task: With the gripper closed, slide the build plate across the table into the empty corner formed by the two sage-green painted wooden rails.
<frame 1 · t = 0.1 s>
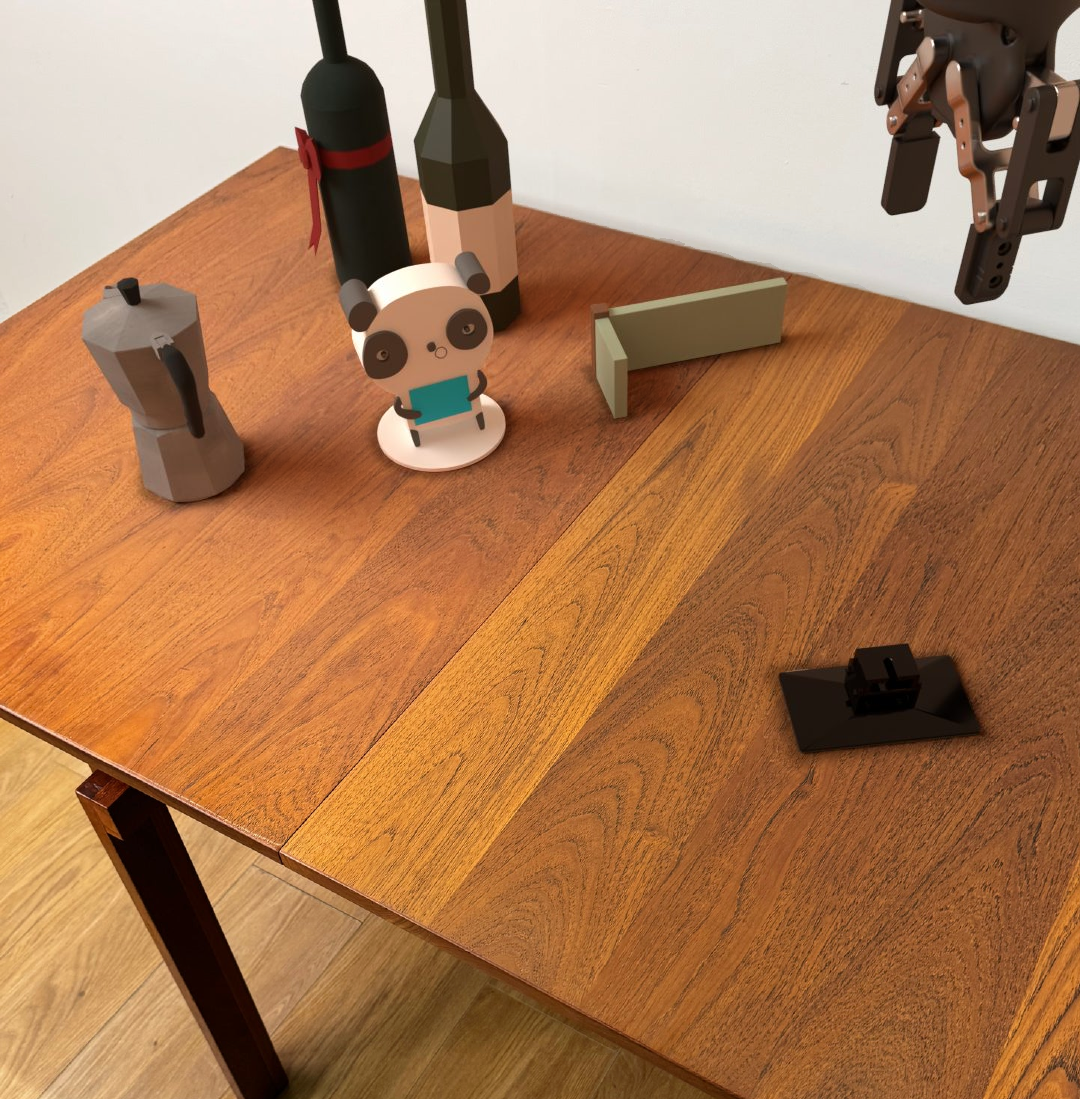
hand: (937, 251, 57), 33 cm above the table, tool pointing down, fingers open, 8 cm apart
coffeepot: (201, 477, 101), on the table
build plate: (875, 705, 81), on the table
wine bottle: (365, 277, 119), on the table
corner rails: (698, 381, 105), on the table
panda figurine: (438, 432, 103), on the table
wine bottle 2: (479, 313, 114), on the table
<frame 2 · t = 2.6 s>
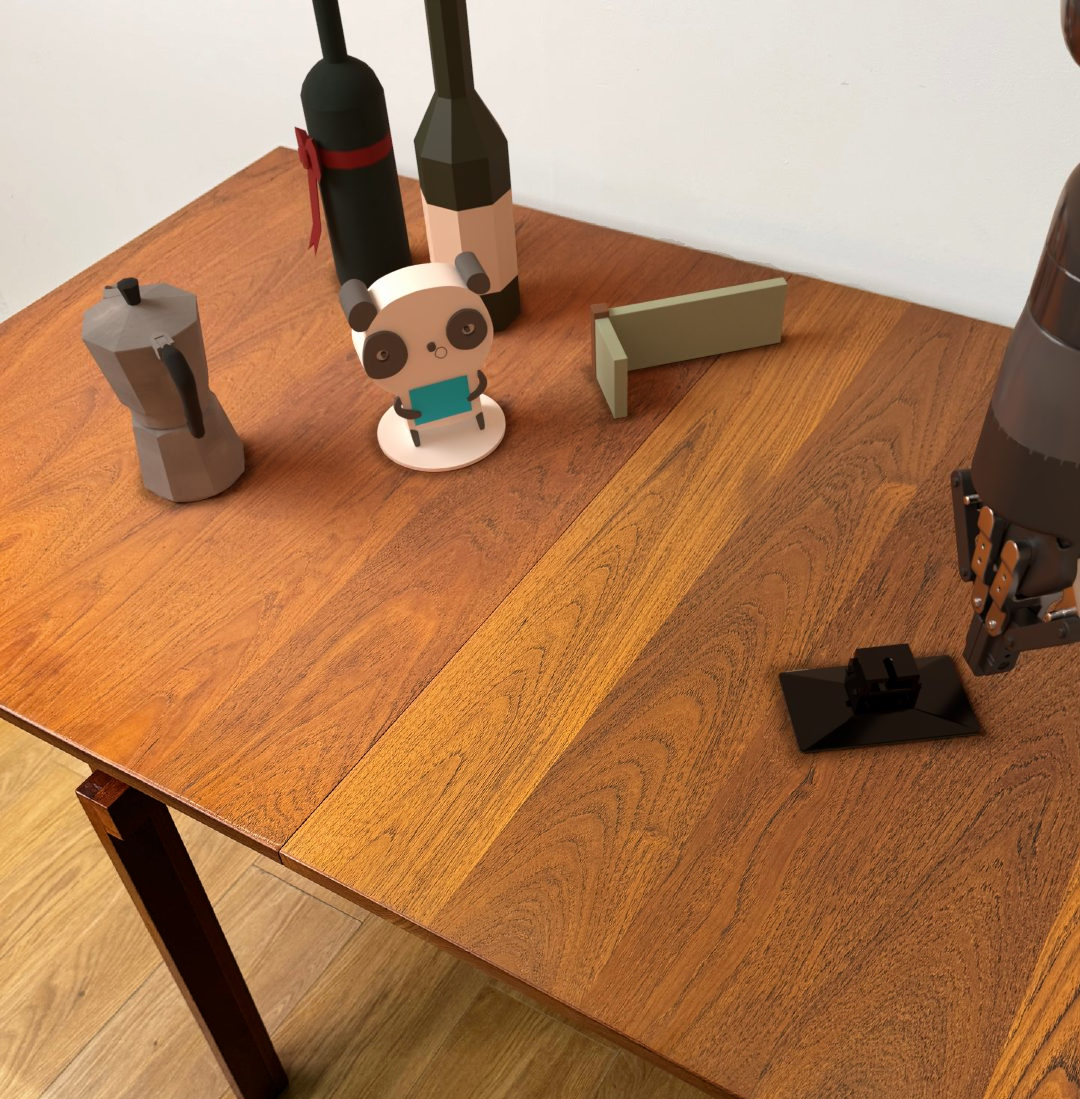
hand: (984, 664, 64), 14 cm above the table, tool pointing down, fingers closed
nothing on the table moved.
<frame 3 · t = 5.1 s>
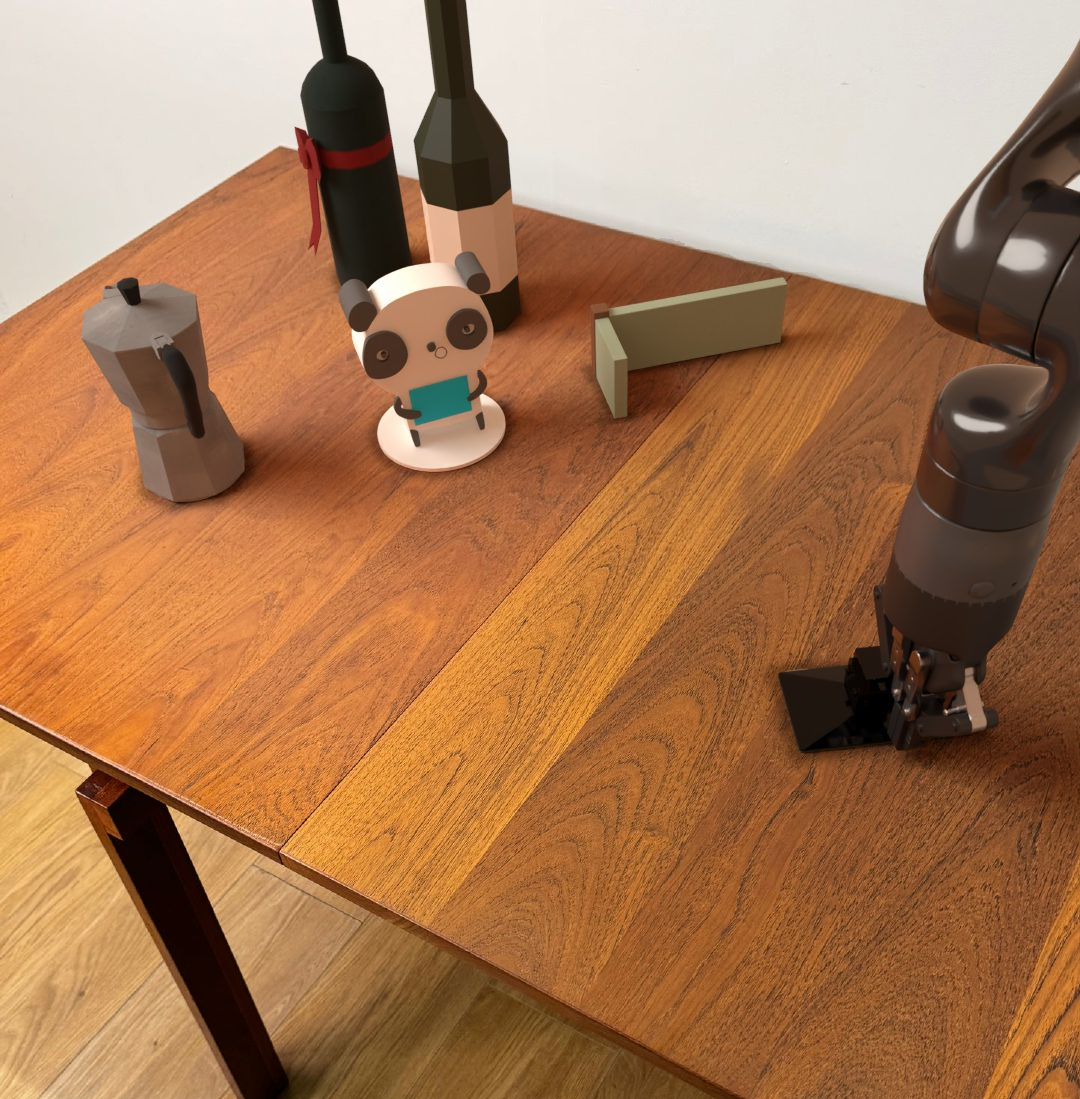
hand: (905, 739, 78), 1 cm above the table, tool pointing down, fingers closed
build plate: (875, 705, 81), on the table, touching gripper
everything else where it was.
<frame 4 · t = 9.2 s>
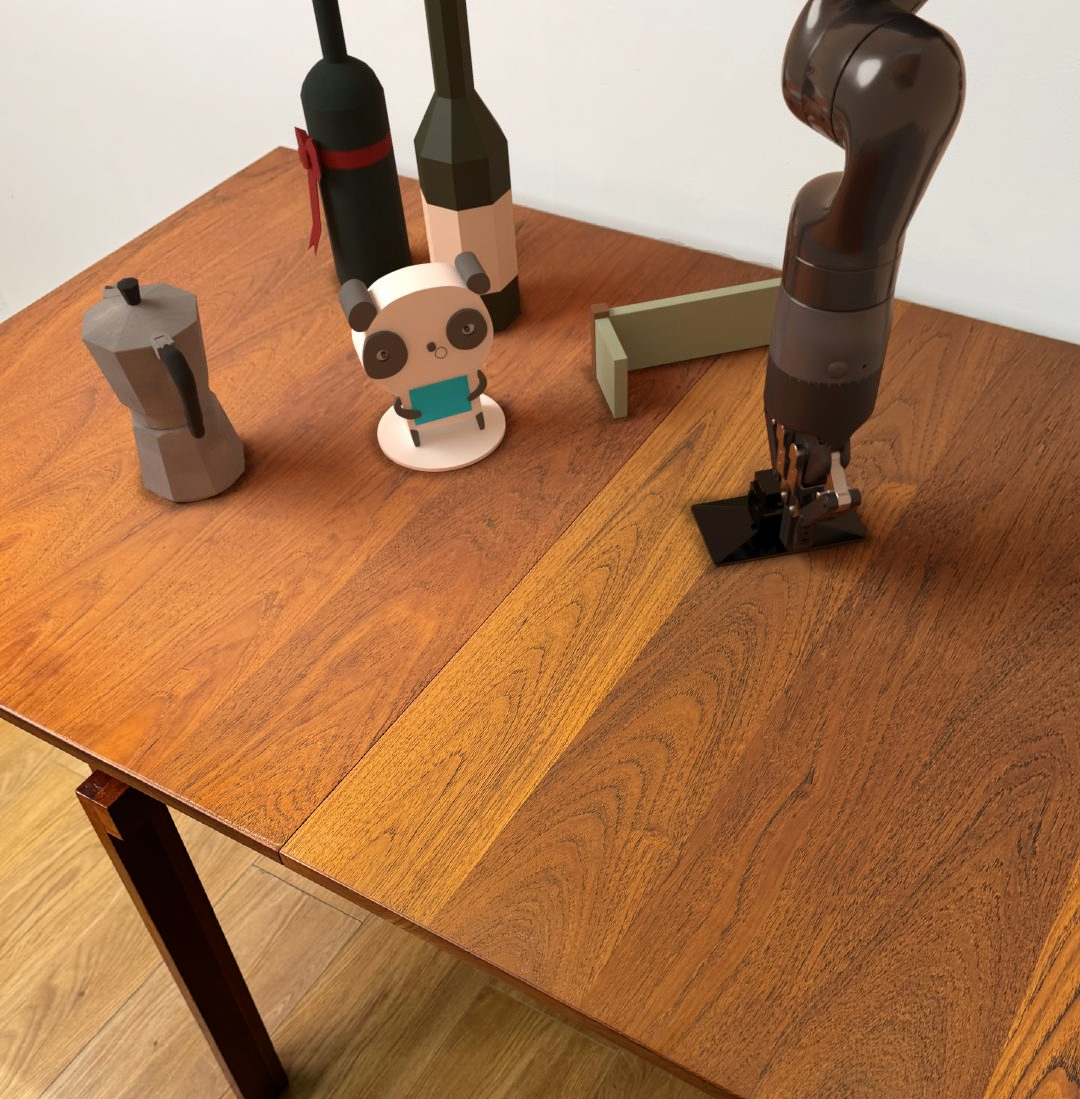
hand: (795, 543, 89), 1 cm above the table, tool pointing down, fingers closed
build plate: (776, 525, 93), on the table, touching gripper
everything else where it was.
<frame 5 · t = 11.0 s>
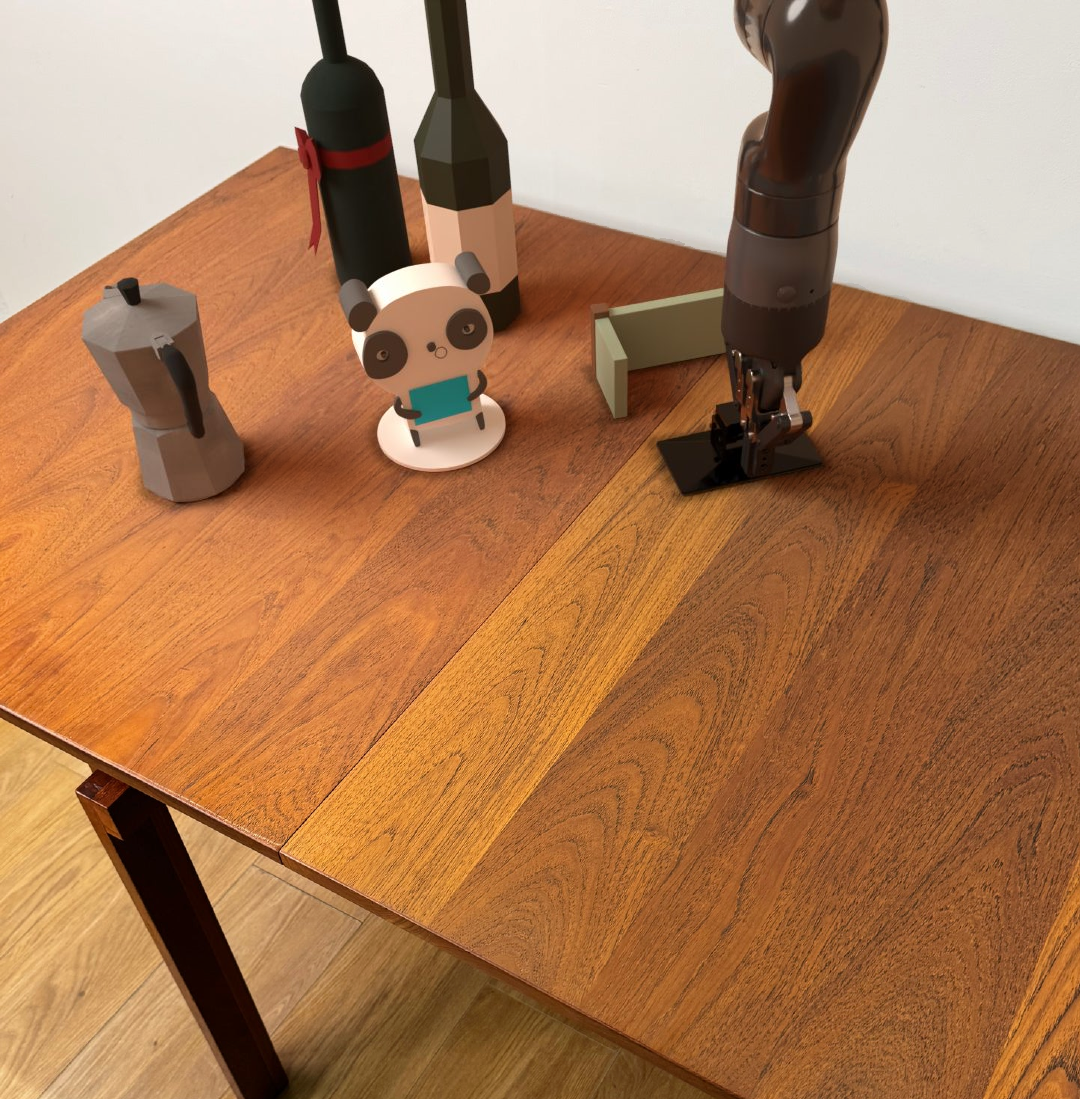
hand: (755, 470, 95), 1 cm above the table, tool pointing down, fingers closed
build plate: (738, 456, 98), on the table, touching gripper
everything else where it was.
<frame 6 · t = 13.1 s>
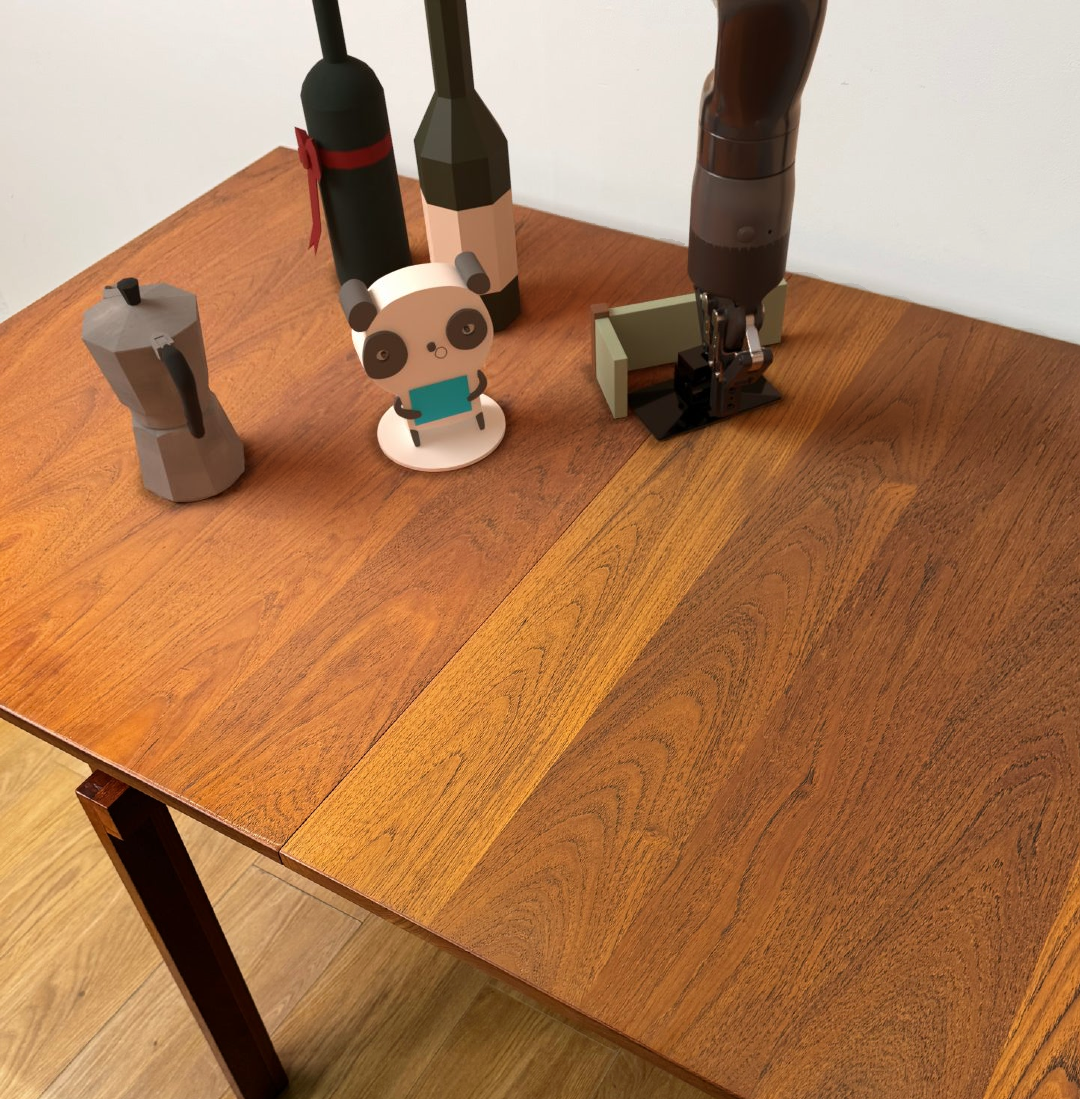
hand: (724, 410, 100), 1 cm above the table, tool pointing down, fingers closed
build plate: (701, 400, 103), on the table, touching gripper
everything else where it was.
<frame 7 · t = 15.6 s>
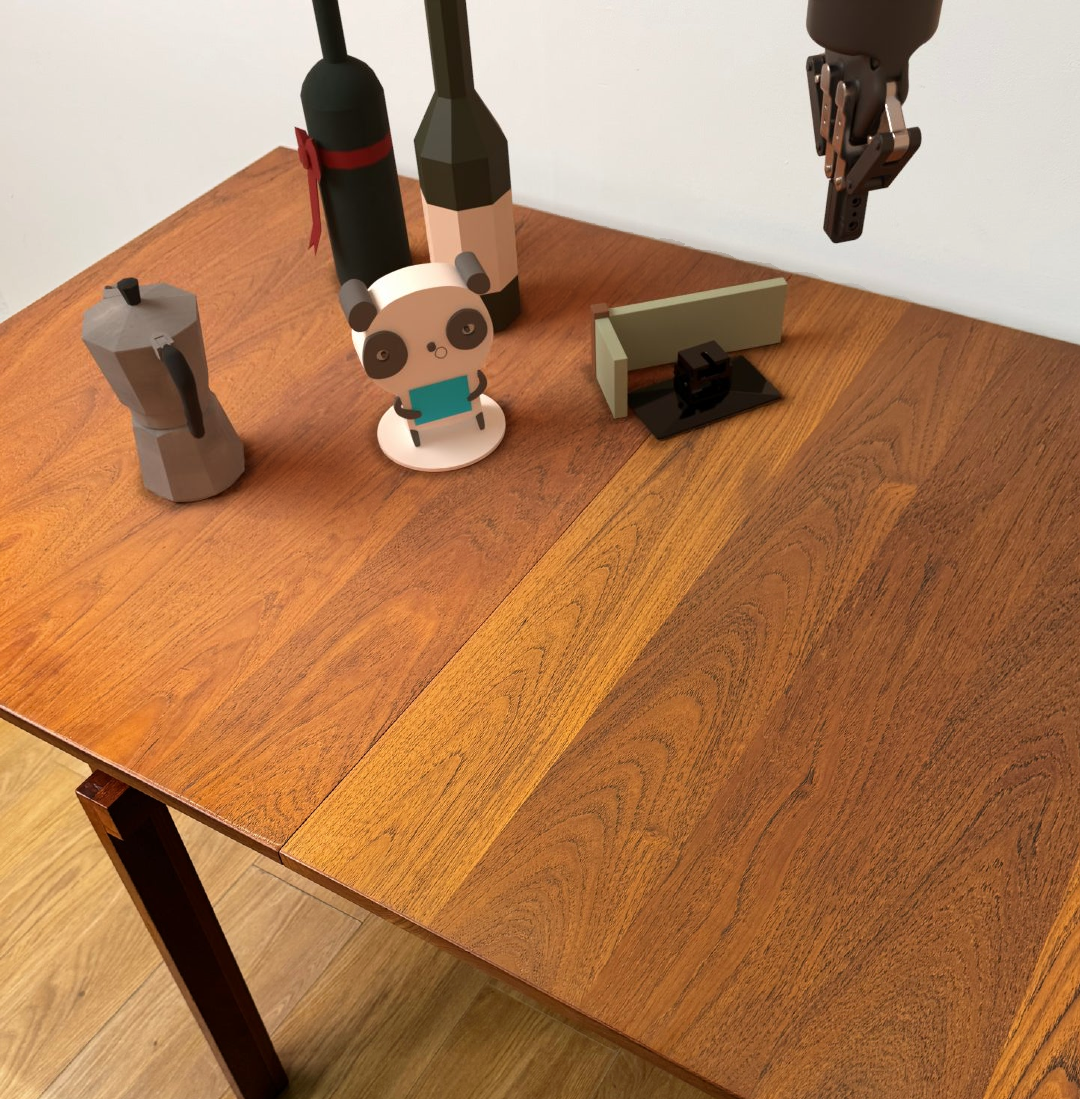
hand: (841, 235, 78), 22 cm above the table, tool pointing down, fingers closed
build plate: (701, 399, 103), on the table
everything else where it was.
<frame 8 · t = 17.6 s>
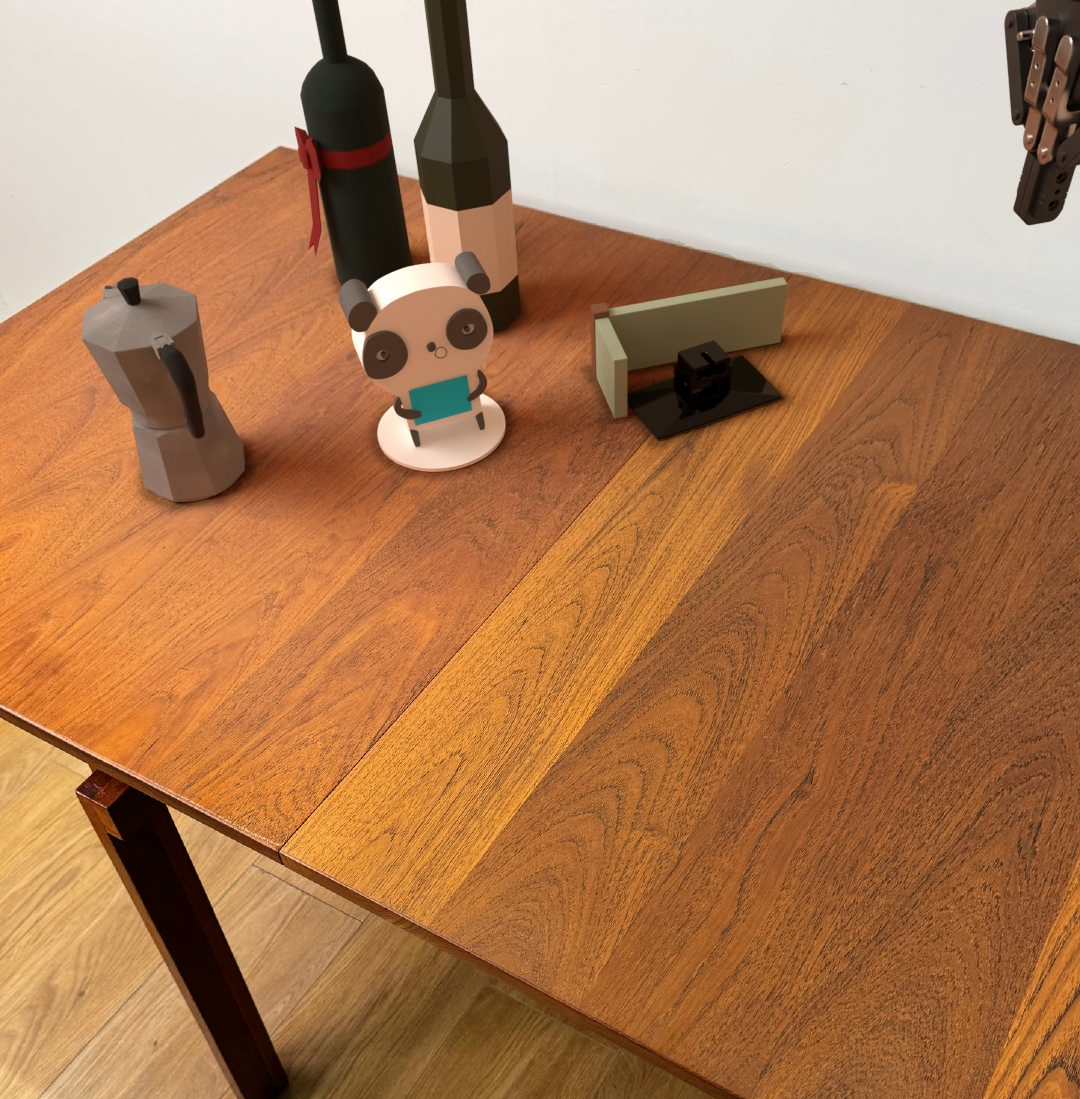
hand: (1034, 216, 69), 27 cm above the table, tool pointing down, fingers closed
nothing on the table moved.
at the end: build plate 1.7 cm from the target spot on the corner rails, point 0.0 cm above the corner rails's base; build plate tilted 0° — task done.
